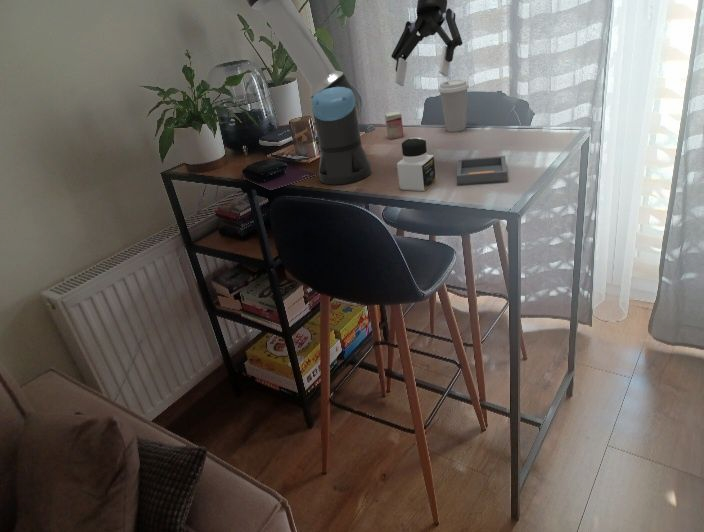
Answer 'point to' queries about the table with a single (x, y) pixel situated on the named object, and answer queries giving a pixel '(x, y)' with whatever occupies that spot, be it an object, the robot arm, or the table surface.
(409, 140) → the medicine bottle
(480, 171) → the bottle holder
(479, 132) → the table surface
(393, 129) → the small box
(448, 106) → the coffee cup
